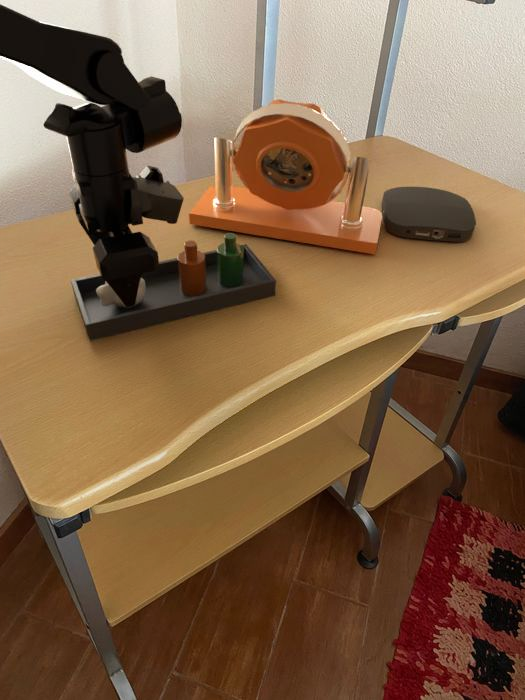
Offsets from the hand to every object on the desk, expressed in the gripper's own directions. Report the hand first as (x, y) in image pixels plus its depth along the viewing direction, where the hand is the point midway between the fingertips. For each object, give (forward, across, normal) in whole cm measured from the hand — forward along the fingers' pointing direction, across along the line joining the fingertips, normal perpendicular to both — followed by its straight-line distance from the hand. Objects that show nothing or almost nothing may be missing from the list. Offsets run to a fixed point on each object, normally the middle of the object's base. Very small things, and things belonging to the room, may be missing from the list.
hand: (121, 285), depth 67 cm
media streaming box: (+4, +5, -53) cm, 53 cm away
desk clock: (+4, +12, -30) cm, 33 cm away
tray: (+4, 0, -7) cm, 8 cm away
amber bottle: (+3, 0, -10) cm, 10 cm away
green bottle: (+3, 0, -15) cm, 15 cm away
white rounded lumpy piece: (+3, 0, 0) cm, 3 cm away
